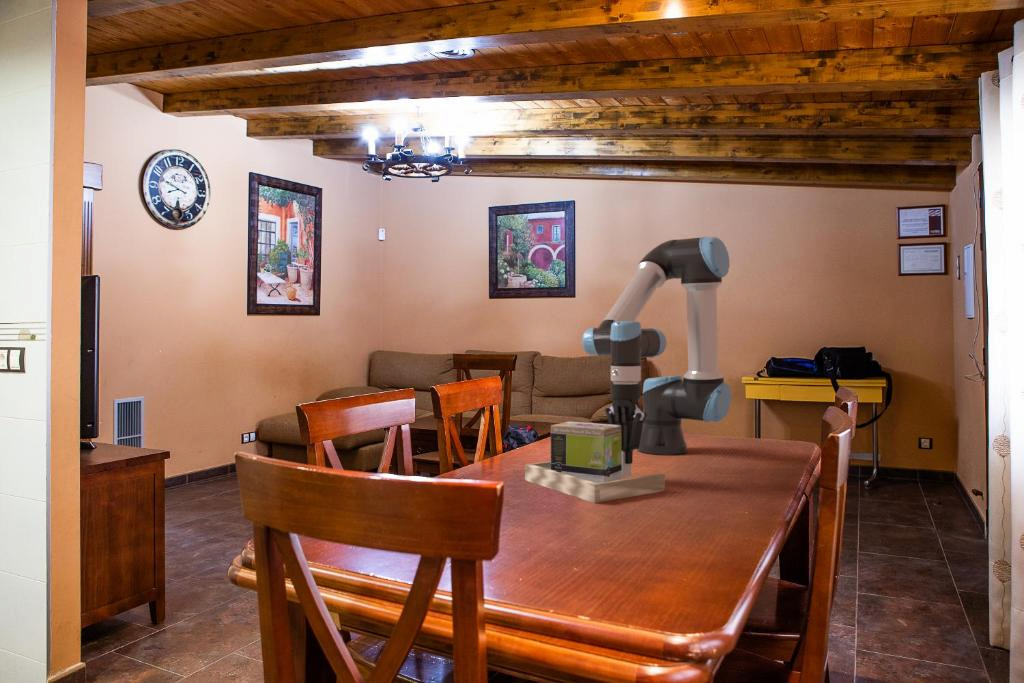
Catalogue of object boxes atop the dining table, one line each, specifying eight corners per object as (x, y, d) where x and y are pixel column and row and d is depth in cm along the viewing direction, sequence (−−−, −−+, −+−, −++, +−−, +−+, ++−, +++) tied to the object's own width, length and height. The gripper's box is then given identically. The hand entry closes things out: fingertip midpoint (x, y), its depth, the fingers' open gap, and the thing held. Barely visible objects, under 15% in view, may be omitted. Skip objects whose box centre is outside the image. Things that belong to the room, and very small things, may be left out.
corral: (524, 480, 180) (525, 464, 179) (591, 470, 191) (591, 455, 191) (594, 503, 157) (594, 484, 157) (664, 490, 169) (664, 473, 169)
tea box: (622, 484, 176) (623, 424, 176) (604, 492, 168) (605, 429, 167) (568, 476, 184) (569, 419, 184) (549, 484, 176) (549, 424, 175)
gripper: (597, 381, 183) (596, 473, 184) (632, 385, 172) (631, 482, 173) (619, 380, 187) (618, 469, 188) (654, 383, 176) (654, 478, 177)
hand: (625, 475), depth 180 cm, fingers closed
